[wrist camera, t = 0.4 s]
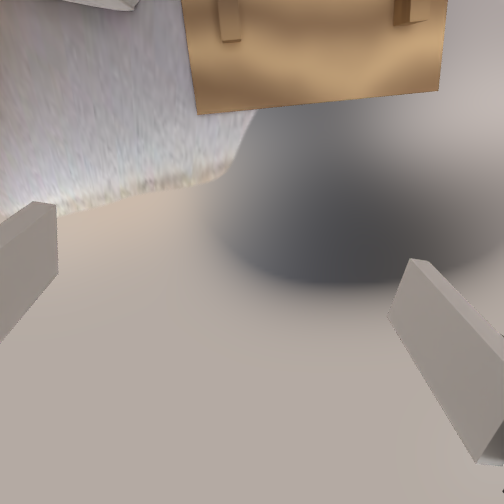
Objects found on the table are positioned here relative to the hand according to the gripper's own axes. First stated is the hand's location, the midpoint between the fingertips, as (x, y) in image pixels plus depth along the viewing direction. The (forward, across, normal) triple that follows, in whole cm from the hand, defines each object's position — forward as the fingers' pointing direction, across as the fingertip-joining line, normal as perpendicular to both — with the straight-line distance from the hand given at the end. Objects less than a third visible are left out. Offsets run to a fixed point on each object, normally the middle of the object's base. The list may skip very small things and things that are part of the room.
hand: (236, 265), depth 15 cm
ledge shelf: (+26, +5, +12) cm, 29 cm away
